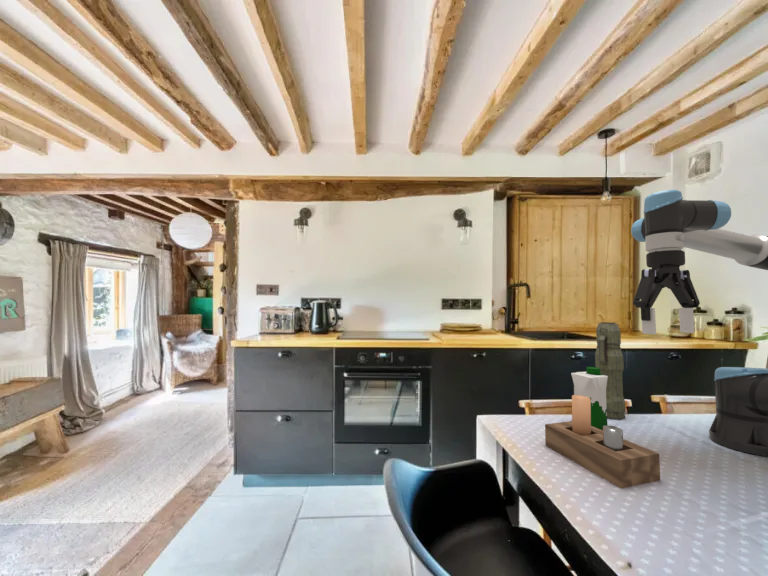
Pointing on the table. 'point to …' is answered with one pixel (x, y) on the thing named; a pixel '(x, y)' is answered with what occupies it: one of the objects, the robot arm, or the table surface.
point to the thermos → (611, 367)
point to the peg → (581, 415)
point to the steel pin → (613, 437)
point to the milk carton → (593, 393)
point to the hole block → (604, 455)
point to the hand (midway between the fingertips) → (668, 333)
